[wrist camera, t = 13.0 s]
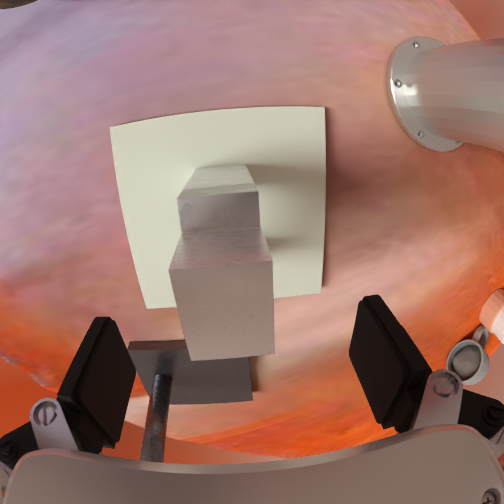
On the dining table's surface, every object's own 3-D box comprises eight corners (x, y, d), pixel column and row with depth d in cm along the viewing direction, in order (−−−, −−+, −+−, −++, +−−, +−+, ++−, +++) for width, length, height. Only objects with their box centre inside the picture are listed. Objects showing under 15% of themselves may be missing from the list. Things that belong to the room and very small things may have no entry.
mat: (320, 107, 22) (324, 107, 21) (318, 287, 30) (320, 292, 29) (114, 127, 21) (109, 127, 20) (148, 303, 29) (146, 308, 28)
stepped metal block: (244, 163, 23) (270, 216, 10) (251, 257, 26) (274, 376, 14) (196, 168, 23) (159, 227, 10) (207, 261, 26) (197, 382, 14)
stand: (327, 325, 32) (383, 454, 16) (318, 382, 37) (353, 489, 21) (129, 341, 31) (94, 472, 15) (154, 396, 36) (140, 505, 20)
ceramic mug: (454, 369, 42) (472, 394, 35) (438, 362, 40) (459, 391, 33) (488, 328, 39) (510, 352, 32) (476, 317, 37) (502, 342, 30)
